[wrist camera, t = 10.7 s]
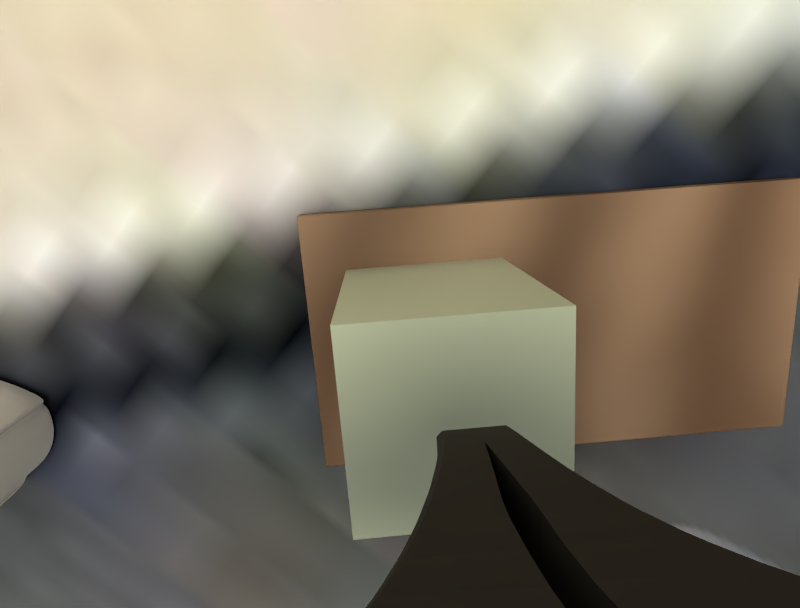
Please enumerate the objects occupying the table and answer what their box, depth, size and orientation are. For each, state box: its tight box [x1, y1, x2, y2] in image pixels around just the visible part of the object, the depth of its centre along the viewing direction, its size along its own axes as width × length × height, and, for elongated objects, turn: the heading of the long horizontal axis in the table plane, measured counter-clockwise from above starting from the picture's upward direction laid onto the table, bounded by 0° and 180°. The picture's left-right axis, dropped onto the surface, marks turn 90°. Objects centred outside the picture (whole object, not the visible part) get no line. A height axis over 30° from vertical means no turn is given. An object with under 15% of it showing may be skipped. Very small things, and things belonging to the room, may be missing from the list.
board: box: [297, 178, 800, 467], centre depth 19 cm, size 17×9×1 cm, turn 94°
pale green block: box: [330, 258, 576, 540], centre depth 15 cm, size 5×5×7 cm
